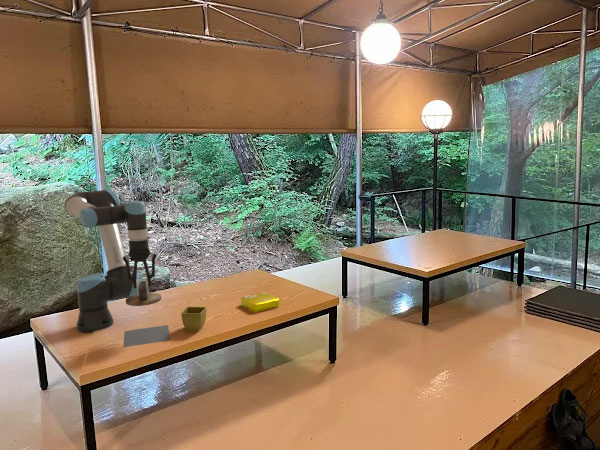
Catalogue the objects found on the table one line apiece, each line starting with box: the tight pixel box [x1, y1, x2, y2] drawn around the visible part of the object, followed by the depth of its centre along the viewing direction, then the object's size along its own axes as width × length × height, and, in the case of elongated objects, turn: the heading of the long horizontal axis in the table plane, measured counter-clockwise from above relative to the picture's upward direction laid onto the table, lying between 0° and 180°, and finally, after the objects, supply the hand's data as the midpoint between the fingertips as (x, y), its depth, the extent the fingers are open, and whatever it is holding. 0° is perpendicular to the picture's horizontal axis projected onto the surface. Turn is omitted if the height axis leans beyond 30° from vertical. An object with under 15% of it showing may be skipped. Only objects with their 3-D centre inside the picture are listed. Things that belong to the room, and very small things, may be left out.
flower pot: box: [180, 306, 207, 332], centre depth 205 cm, size 9×9×9 cm
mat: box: [122, 324, 171, 348], centre depth 200 cm, size 18×18×1 cm
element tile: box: [240, 291, 280, 313], centre depth 234 cm, size 15×15×5 cm
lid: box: [125, 282, 162, 307], centre depth 197 cm, size 14×14×6 cm
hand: (143, 294), depth 197 cm, fingers closed on lid, 3 cm apart
